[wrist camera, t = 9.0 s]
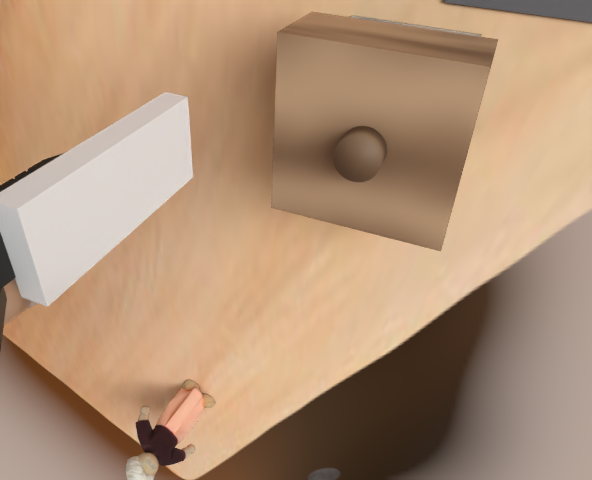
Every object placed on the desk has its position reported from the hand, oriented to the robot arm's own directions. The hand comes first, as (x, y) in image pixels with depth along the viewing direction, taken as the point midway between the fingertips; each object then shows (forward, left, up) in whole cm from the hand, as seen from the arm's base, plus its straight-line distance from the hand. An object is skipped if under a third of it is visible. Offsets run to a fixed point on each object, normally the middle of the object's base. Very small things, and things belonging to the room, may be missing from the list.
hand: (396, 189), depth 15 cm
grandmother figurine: (+45, -21, -22) cm, 54 cm away
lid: (+5, -3, -17) cm, 18 cm away
